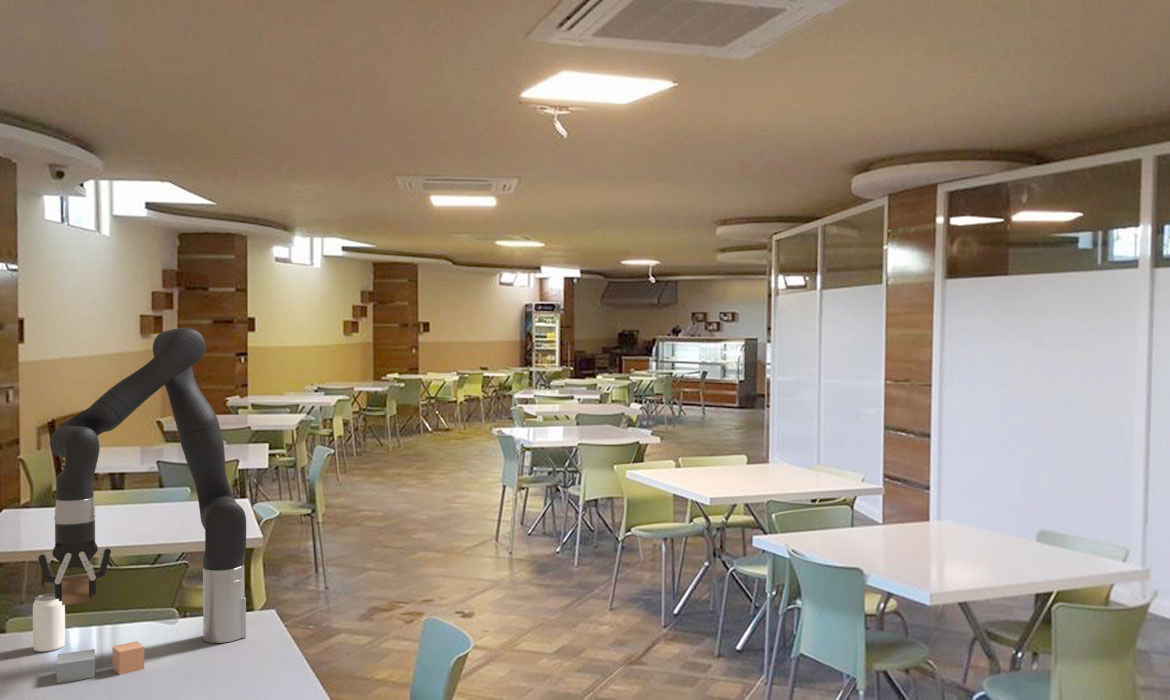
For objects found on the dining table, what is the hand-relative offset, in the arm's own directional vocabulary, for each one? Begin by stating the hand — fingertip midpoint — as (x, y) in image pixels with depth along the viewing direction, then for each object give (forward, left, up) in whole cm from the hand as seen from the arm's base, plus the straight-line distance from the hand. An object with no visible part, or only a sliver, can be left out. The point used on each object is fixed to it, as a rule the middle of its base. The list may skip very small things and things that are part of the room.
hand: (75, 598), depth 199 cm
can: (+6, -23, -17) cm, 29 cm away
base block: (0, 0, -16) cm, 16 cm away
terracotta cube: (-10, +1, -17) cm, 19 cm away
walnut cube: (0, 0, 0) cm, 0 cm away
